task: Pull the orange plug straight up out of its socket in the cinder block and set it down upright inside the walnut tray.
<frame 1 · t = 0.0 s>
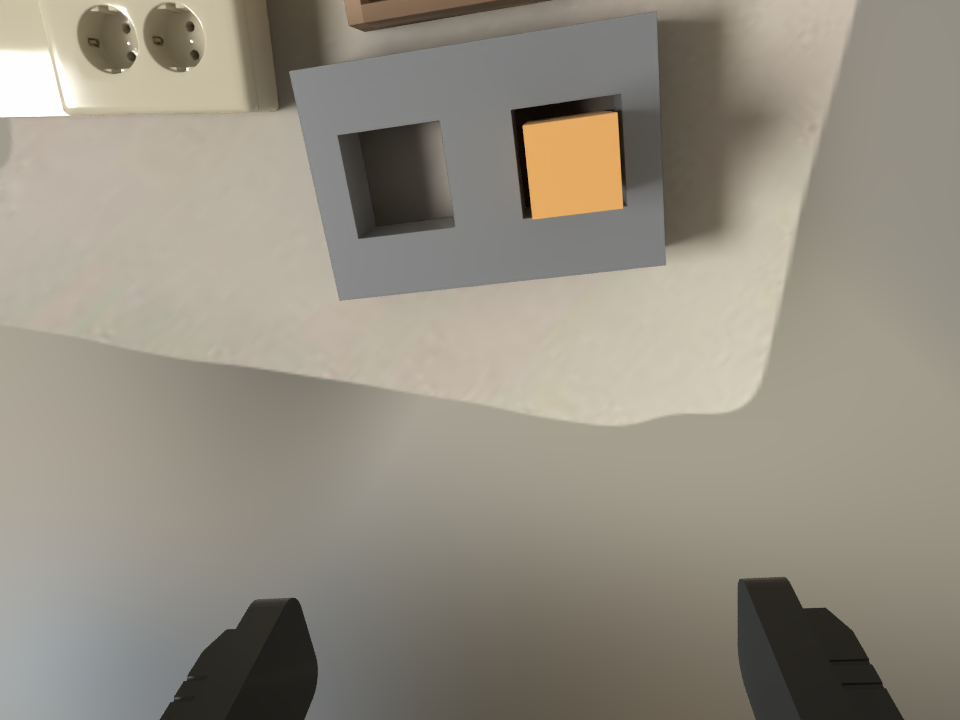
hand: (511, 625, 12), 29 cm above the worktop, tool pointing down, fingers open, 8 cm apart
cinder block: (488, 164, 37), on the worktop
plug: (567, 153, 37), resting in cinder block
electrical outlet: (124, 47, 37), on the worktop
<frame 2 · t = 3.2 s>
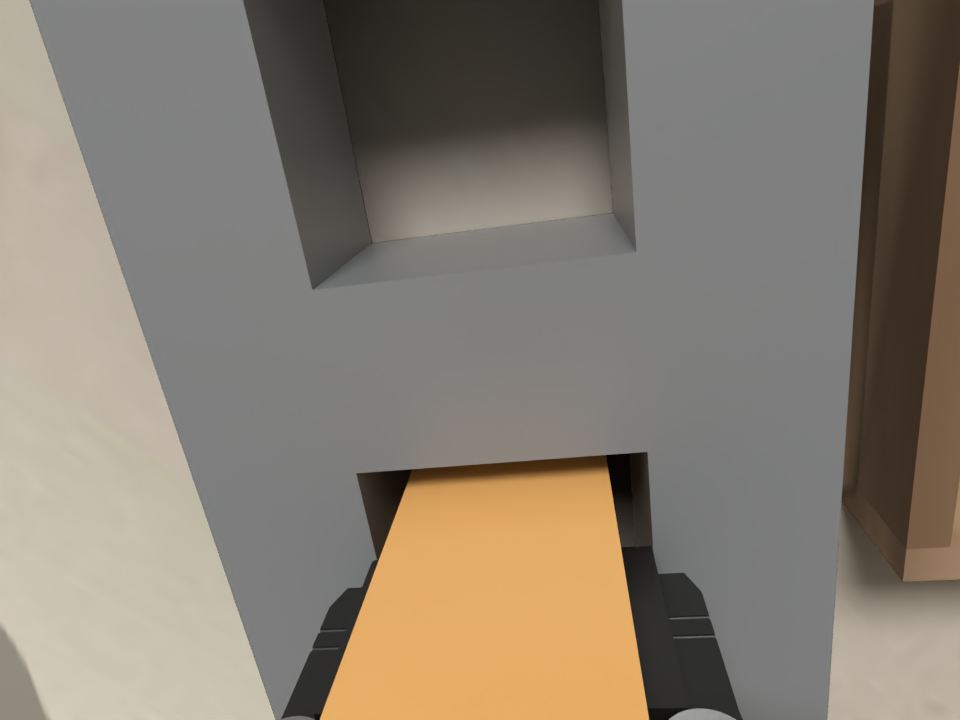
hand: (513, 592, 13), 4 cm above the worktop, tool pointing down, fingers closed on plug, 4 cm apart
cinder block: (499, 306, 15), on the worktop
plug: (523, 475, 17), resting in cinder block, touching gripper
when the fingers open (7 cm above the worktop, at t = 9.8 s): plug drops 2 cm, resting on tray.
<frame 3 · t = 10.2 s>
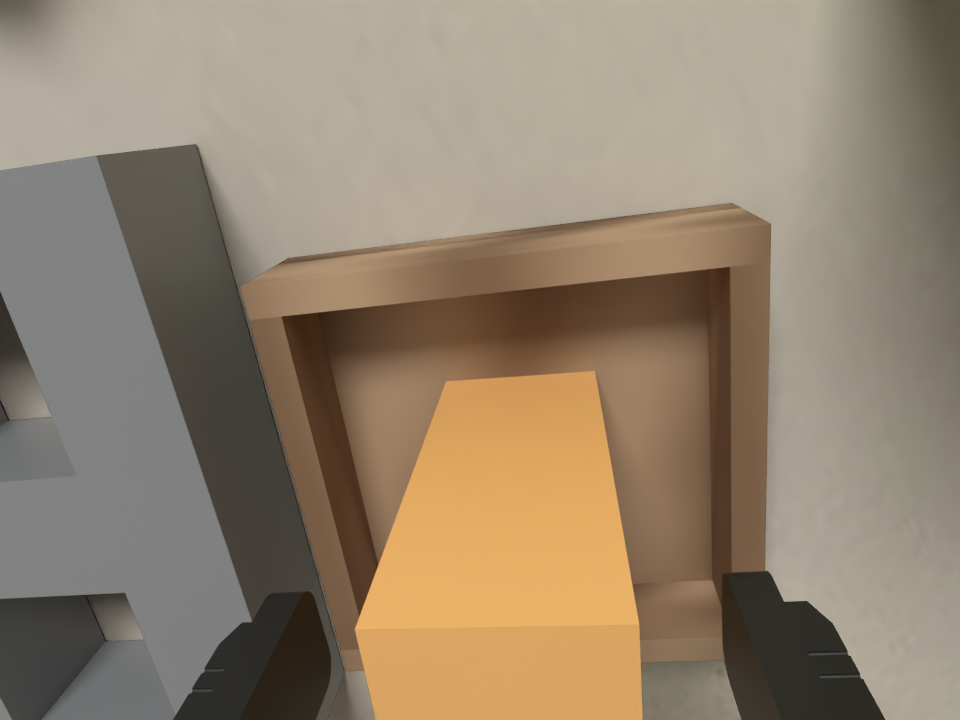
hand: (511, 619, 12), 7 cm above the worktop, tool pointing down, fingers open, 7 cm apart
cinder block: (105, 464, 21), on the worktop
plug: (526, 442, 18), point 1 cm above the worktop, touching tray
tray: (525, 430, 19), on the worktop
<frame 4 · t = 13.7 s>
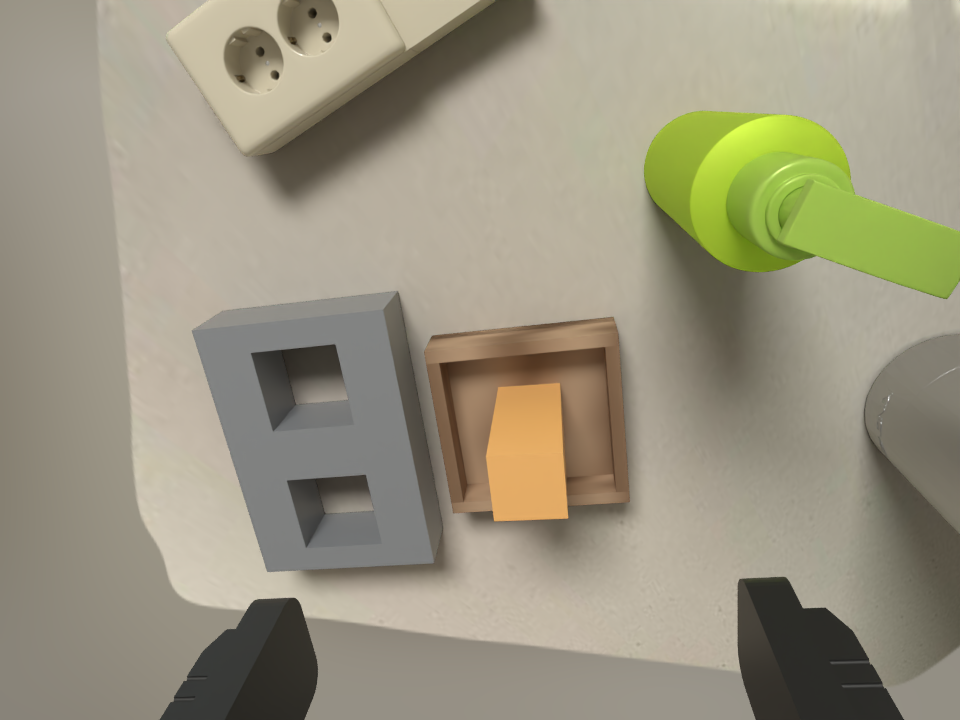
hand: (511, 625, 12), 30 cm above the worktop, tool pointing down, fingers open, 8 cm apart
cinder block: (338, 424, 45), on the worktop
plug: (531, 413, 43), point 1 cm above the worktop, touching tray
electrical outlet: (360, 11, 36), on the worktop
soap dispenser: (704, 169, 37), on the worktop
tray: (531, 408, 43), on the worktop
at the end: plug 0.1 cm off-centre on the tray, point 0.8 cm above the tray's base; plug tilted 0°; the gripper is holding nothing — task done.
